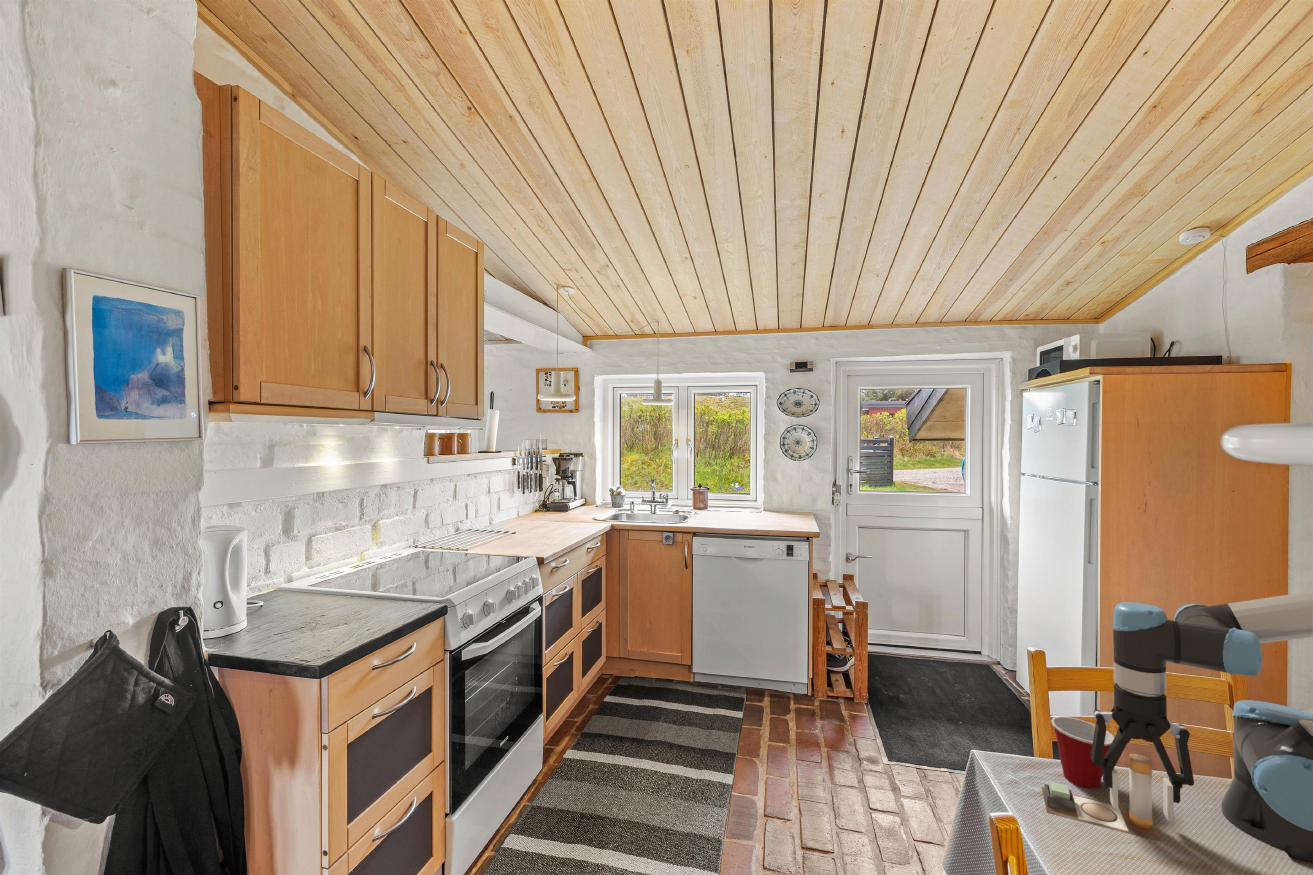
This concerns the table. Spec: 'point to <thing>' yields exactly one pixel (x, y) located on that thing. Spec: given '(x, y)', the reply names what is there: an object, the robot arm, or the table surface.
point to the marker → (1140, 791)
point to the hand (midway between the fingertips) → (1140, 810)
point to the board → (1095, 813)
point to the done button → (1059, 790)
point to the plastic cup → (1079, 751)
